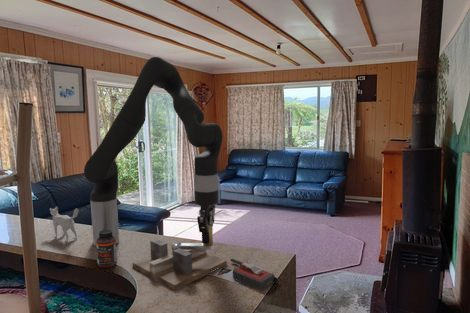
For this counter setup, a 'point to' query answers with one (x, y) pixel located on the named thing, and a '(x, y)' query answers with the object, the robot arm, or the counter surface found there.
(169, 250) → the lock base
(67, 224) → the cat figurine
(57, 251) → the counter surface
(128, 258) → the counter surface
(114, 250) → the supplement bottle
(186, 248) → the swing bar
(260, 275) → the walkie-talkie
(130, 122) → the robot arm
